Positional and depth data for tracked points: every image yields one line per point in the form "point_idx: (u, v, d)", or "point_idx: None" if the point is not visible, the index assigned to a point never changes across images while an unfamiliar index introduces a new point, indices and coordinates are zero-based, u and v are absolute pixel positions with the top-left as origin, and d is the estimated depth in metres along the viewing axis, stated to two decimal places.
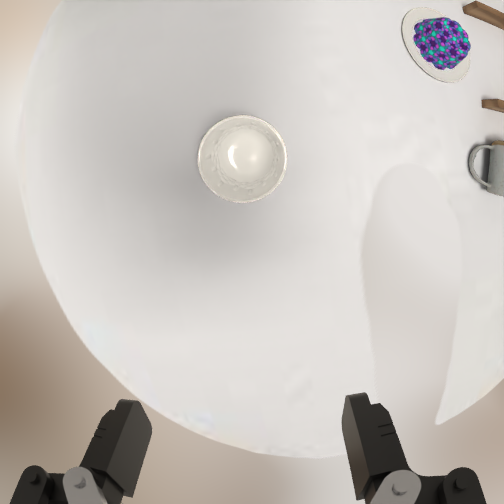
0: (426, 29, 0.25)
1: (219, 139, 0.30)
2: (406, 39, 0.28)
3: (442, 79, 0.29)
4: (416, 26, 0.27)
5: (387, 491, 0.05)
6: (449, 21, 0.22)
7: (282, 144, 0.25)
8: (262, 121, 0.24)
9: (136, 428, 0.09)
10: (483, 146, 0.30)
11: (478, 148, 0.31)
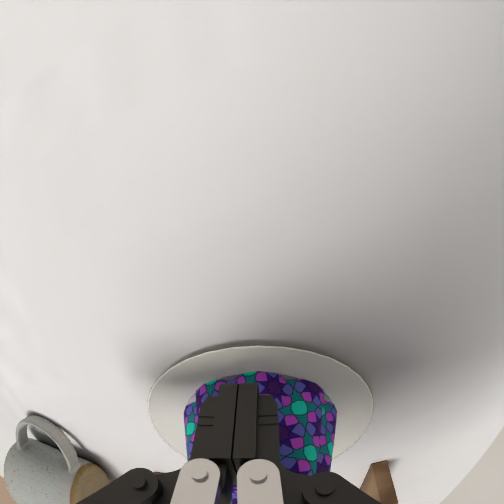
0: (287, 424, 0.11)
1: None
2: (256, 352, 0.12)
3: (153, 414, 0.14)
4: (309, 389, 0.12)
5: (247, 483, 0.06)
6: None
7: None
8: None
9: None
10: (63, 453, 0.15)
11: (56, 442, 0.15)
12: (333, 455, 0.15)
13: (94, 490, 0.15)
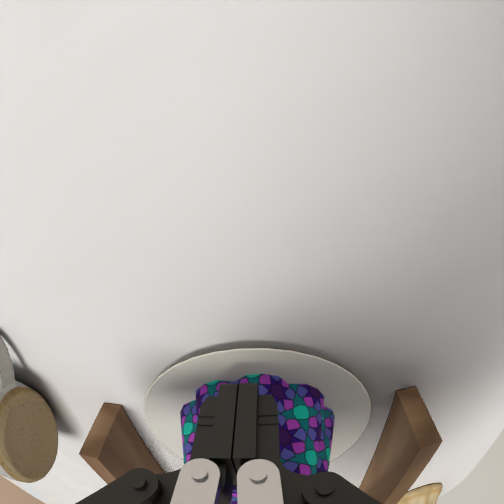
0: (289, 428, 0.11)
1: None
2: (263, 354, 0.12)
3: (149, 411, 0.13)
4: (311, 394, 0.12)
5: (247, 483, 0.06)
6: None
7: None
8: None
9: None
10: None
11: None
12: None
13: (30, 423, 0.12)
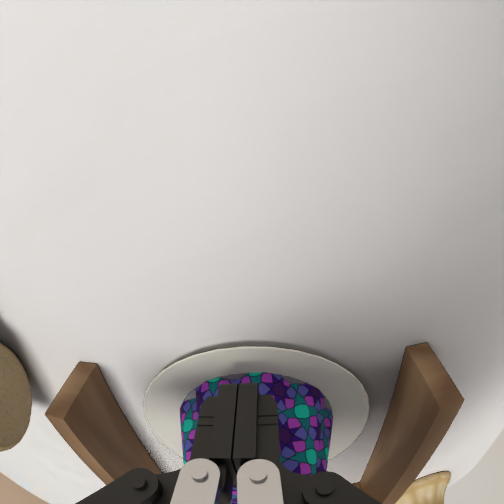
0: (290, 427, 0.11)
1: None
2: (266, 353, 0.12)
3: (148, 407, 0.13)
4: (311, 394, 0.12)
5: (247, 483, 0.06)
6: None
7: None
8: None
9: None
10: None
11: None
12: None
13: None
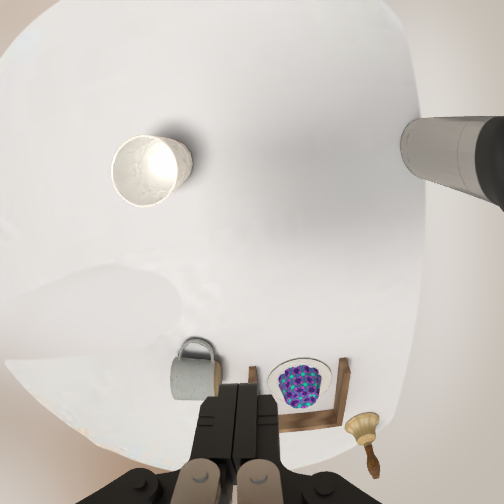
0: (310, 378, 0.49)
1: None
2: (304, 360, 0.50)
3: (270, 378, 0.51)
4: (315, 370, 0.51)
5: (246, 483, 0.06)
6: (314, 398, 0.47)
7: (156, 202, 0.31)
8: (173, 186, 0.30)
9: None
10: (210, 352, 0.48)
11: (208, 347, 0.48)
12: (319, 394, 0.53)
13: (219, 374, 0.48)
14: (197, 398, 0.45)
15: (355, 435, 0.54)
